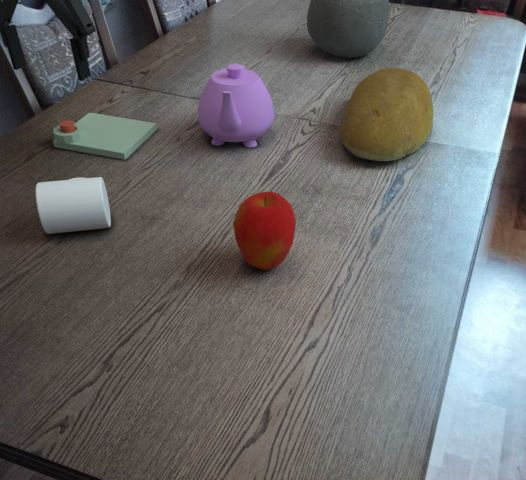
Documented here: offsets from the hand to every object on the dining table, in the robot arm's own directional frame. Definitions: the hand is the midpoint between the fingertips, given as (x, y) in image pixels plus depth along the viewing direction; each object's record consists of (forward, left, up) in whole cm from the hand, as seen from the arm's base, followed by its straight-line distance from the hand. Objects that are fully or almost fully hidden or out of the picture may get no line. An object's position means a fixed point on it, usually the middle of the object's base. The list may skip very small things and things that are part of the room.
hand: (52, 72), depth 98 cm
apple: (+47, -21, -15) cm, 54 cm away
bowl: (+38, +74, -15) cm, 85 cm away
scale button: (-2, +3, -12) cm, 13 cm away
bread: (+57, +31, -15) cm, 67 cm away
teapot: (+28, +17, -15) cm, 36 cm away
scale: (+3, +8, -15) cm, 17 cm away
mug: (+14, -20, -15) cm, 29 cm away
